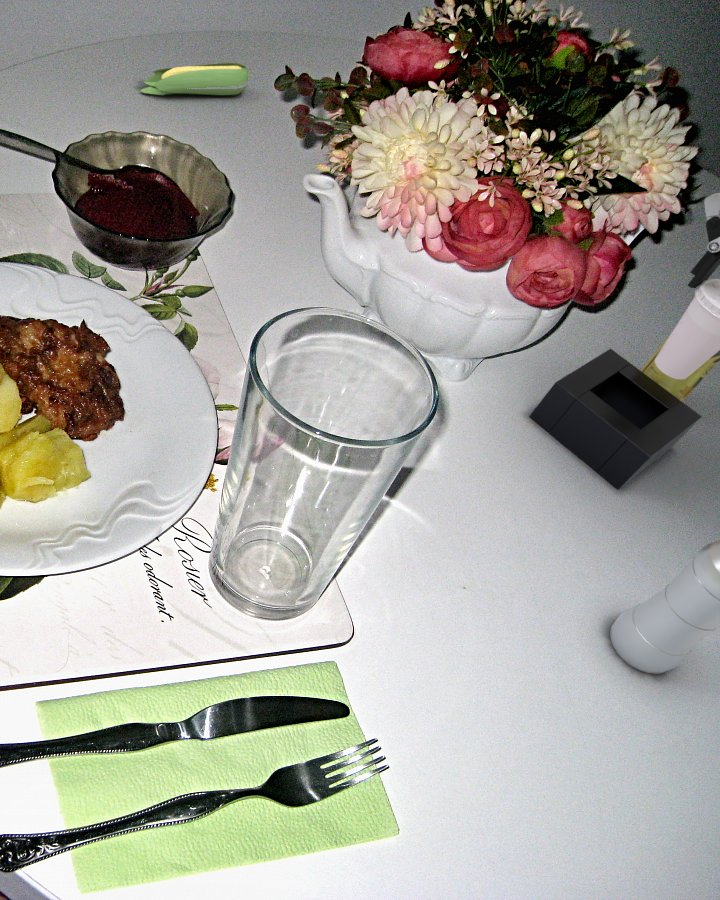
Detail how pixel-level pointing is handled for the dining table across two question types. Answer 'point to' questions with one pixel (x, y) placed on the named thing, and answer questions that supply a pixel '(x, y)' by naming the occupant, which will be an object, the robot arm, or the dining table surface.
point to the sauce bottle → (679, 386)
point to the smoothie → (693, 334)
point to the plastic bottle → (672, 617)
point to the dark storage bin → (613, 417)
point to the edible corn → (198, 79)
